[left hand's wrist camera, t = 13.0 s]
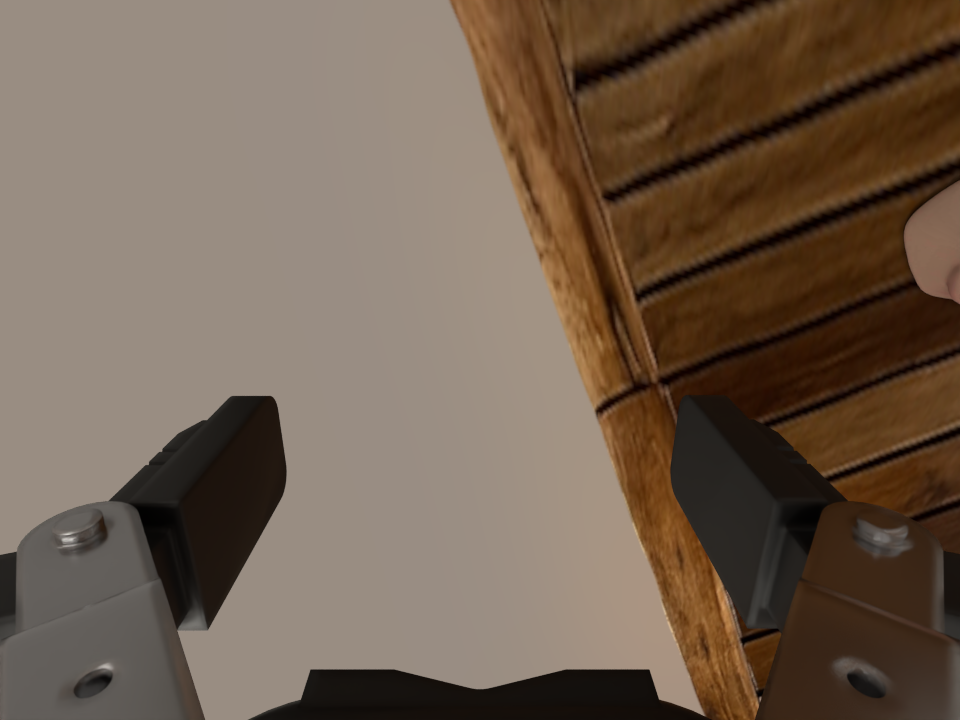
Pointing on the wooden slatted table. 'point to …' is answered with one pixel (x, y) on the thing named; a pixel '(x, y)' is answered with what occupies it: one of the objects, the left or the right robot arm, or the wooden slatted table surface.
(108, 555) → the left robot arm
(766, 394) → the wooden slatted table surface
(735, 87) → the wooden slatted table surface
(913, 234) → the anatomical model
